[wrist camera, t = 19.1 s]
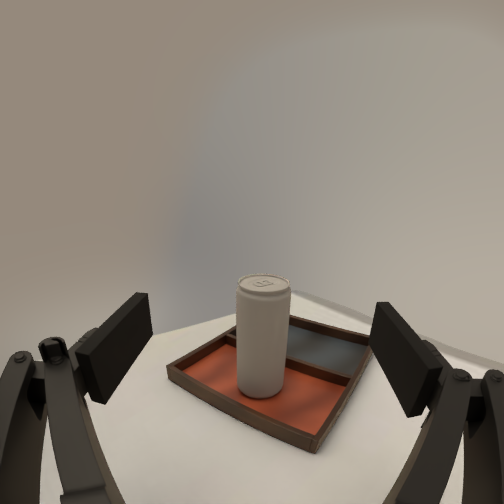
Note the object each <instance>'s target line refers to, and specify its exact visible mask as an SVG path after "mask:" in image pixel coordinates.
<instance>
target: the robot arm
mask: <svg viewBox="0 0 504 504" xmlns="http://www.w3.org/2000/svg"><path fill="white" fill-rule="evenodd" d="M152 335H153V331H152V324H151V316H150V308H149V300H148V293H137V292H136V293H135V294H134V295H133V296H132V297H131V298H129V299H128V300H127V301H126V302H125V303H124V304H123V305H122V306H121V307H120V308H119V309H118V310H117V311H116V312H115V313H114V314H113V315H111V316H110V317H109V318H108V319H107V320H106V321H105V322H104V323H103V324H102V325H101V326H100V327H99V328H94V329H92V330H90V331H88V332H87V333H85V334H84V335H83V336H82V338H80V339H79V340H78V342H76V343H75V344H74V345H73V346H72V347H71V348H70V349H69V350H67V347H66V344H65V341H64V339H62V338H60V337H50V338H47V339H44V340H43V341H41V342H40V343H39V346H38V348H39V351H40V353H41V356H42V359H43V362H42V361H34V360H33V357H32V355H31V353H29V352H28V351H19V352H16V353H15V354H13V355H12V356H11V357H10V359H9V361H8V363H7V365H6V367H5V369H4V371H3V373H2V376H1V378H0V504H40V474H41V461H42V451H43V443H44V435H45V428H46V422H47V416H48V420H49V427H50V434H51V440H52V445H53V450H54V455H55V460H56V464H57V468H58V473H59V476H60V480H61V484H62V487H63V492H64V494H63V495H60V502H61V504H126V503H125V501H124V499H123V497H122V495H121V493H120V491H119V489H118V487H117V485H116V483H115V481H114V478H113V476H112V474H111V471H110V469H109V467H108V464H107V462H106V459H105V457H104V454H103V452H102V449H101V446H100V444H99V441H98V438H97V435H96V432H95V429H94V426H93V423H92V420H91V417H90V413H89V410H88V406H87V403H86V400H85V398H84V396H85V395H86V393H87V392H88V393H89V395H90V398H91V400H92V401H94V402H97V403H101V404H104V405H106V403H107V402H108V400H109V399H110V397H111V396H112V394H113V393H114V391H115V390H116V388H117V387H118V385H119V384H120V382H121V381H122V379H123V378H124V376H125V375H126V373H127V372H128V370H129V369H130V367H131V366H132V364H133V363H134V361H135V360H136V358H137V357H138V355H139V354H140V353H141V351H142V350H143V348H144V347H145V345H146V344H147V342H148V341H149V340H150V338H151V337H152ZM368 344H369V346H370V347H371V349H372V351H373V353H374V355H375V357H376V358H377V360H378V362H379V364H380V366H381V368H382V370H383V371H384V373H385V375H386V377H387V379H388V381H389V383H390V385H391V387H392V389H393V390H394V392H395V394H396V396H397V398H398V400H399V402H400V404H401V406H402V408H403V410H404V412H405V414H406V416H407V418H410V417H415V416H419V415H422V413H423V411H424V409H425V407H426V405H427V407H428V409H429V410H430V411H429V413H428V415H427V417H426V419H425V421H424V422H423V424H422V426H421V428H422V429H421V432H420V434H419V436H418V438H417V441H416V443H415V445H414V447H413V449H412V451H411V453H410V455H409V457H408V459H407V461H406V463H405V465H404V467H403V469H402V471H401V473H400V475H399V477H398V478H397V480H396V482H395V484H394V485H393V487H392V489H391V490H390V492H389V494H388V495H387V497H386V499H385V500H384V502H383V503H382V504H439V503H440V500H441V498H442V495H443V493H444V490H445V488H446V485H447V482H448V480H449V477H450V474H451V471H452V468H453V465H454V462H455V459H456V455H457V452H458V448H459V445H460V441H461V437H462V433H463V436H464V479H463V495H462V504H504V374H503V373H502V372H501V371H499V370H494V369H493V370H488V371H487V372H486V373H485V375H484V377H483V379H472V376H471V375H470V374H469V373H468V372H467V371H465V370H462V369H457V368H456V369H453V368H452V366H451V365H450V364H449V363H448V362H447V360H446V359H445V358H444V357H443V356H442V354H441V353H440V352H439V351H438V350H437V349H436V347H435V346H434V345H433V344H431V343H430V342H428V341H426V340H421V339H420V338H419V336H418V335H417V334H416V333H415V332H414V330H413V329H412V328H411V327H410V326H409V325H408V324H407V322H406V321H405V320H404V319H403V318H402V317H401V316H400V315H399V313H398V312H397V311H396V310H395V309H394V308H393V307H392V305H391V304H390V303H389V302H377V304H376V309H375V314H374V318H373V323H372V328H371V332H370V337H369V341H368Z"/></svg>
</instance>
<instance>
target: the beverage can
mask: <svg viewBox="0 0 504 504" xmlns="http://www.w3.org/2000/svg"><path fill="white" fill-rule="evenodd" d="M238 285H239V286H238V287H237V290H236V336H237V385H238V388H239V389H240V391H241V392H243V393H244V394H245V395H247V396H249V397H251V398H256V399H262V398H268V397H272V396H274V395H275V394H277V393H278V392H279V391H280V390H281V389H282V386H283V379H284V370H285V359H286V349H287V338H288V326H289V314H290V300H291V289H290V287H289V286H290V282H289V281H288V280H287V279H286V278H284V277H281V276H278V275H273V274H252V275H247V276H244V277H242V278H240V279H239V281H238Z"/></svg>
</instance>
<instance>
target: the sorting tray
mask: <svg viewBox="0 0 504 504" xmlns="http://www.w3.org/2000/svg"><path fill="white" fill-rule="evenodd" d="M369 337H370V336H369V335H365V334H361V333H357V332H353V331H349V330H345V329H341V328H337V327H333V326H330V325H326V324H322V323H318V322H315V321H311V320H307V319H304V318H300V317H296V316H293V315H289V326H288V338H287V349H286V359H285V370H284V379H283V386H282V389H281V390H280V391H279V392H278V393H277V394H275V395H274V396H272V397H268V398H262V399H256V398H251V397H249V396H247V395H245V394H244V393H243V392H241V391H240V389H239V388H238V385H237V336H236V326H234V327H232V328H231V329H229V330H228V331H226V332H224V333H222V334H221V335H219V336H217V337H216V338H214V339H212V340H211V341H209V342H207V343H205V344H204V345H202V346H200V347H199V348H197V349H195V350H193V351H192V352H190V353H188V354H186V355H185V356H183V357H181V358H179V359H177V360H176V361H174V362H172V363H170V364H168V365H167V366H166V368H167V374H168V379H170V380H171V381H173V382H174V383H176V384H177V385H179V386H181V387H182V388H184V389H185V390H187V391H189V392H190V393H192V394H193V395H195V396H197V397H198V398H200V399H202V400H203V401H205V402H207V403H209V404H210V405H212V406H214V407H216V408H217V409H219V410H221V411H223V412H225V413H227V414H228V415H230V416H232V417H234V418H236V419H238V420H240V421H242V422H244V423H246V424H248V425H250V426H252V427H254V428H256V429H258V430H260V431H262V432H264V433H266V434H268V435H271V436H273V437H275V438H277V439H280V440H282V441H284V442H286V443H289V444H291V445H294V446H296V447H298V448H301V449H303V450H306V451H308V452H311V453H314V454H315V453H316V451H317V450H318V448H319V447H320V445H321V444H322V442H323V441H324V439H325V438H326V436H327V435H328V433H329V431H330V430H331V428H332V427H333V425H334V423H335V422H336V420H337V418H338V417H339V415H340V413H341V412H342V410H343V408H344V406H345V405H346V403H347V401H348V399H349V398H350V396H351V394H352V392H353V390H354V388H355V387H356V385H357V383H358V381H359V379H360V377H361V375H362V373H363V371H364V369H365V367H366V365H367V363H368V361H369V359H370V357H371V355H372V353H373V351H372V349H371V347H370V346H369V344H368V341H369Z"/></svg>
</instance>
